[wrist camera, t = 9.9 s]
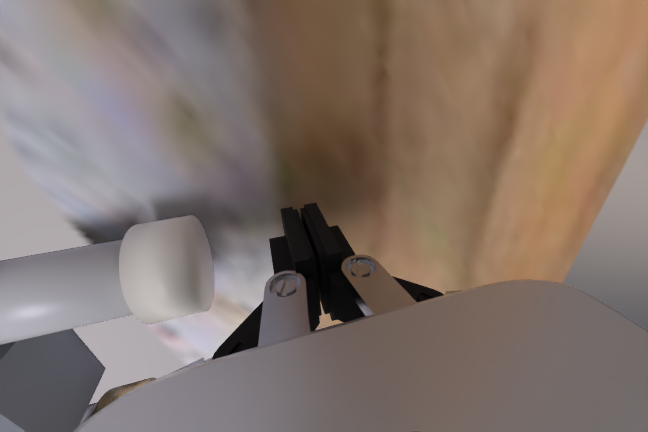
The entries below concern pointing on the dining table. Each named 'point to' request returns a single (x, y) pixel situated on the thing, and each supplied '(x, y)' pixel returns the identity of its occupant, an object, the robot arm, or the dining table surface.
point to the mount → (46, 382)
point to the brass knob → (112, 397)
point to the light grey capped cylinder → (109, 281)
